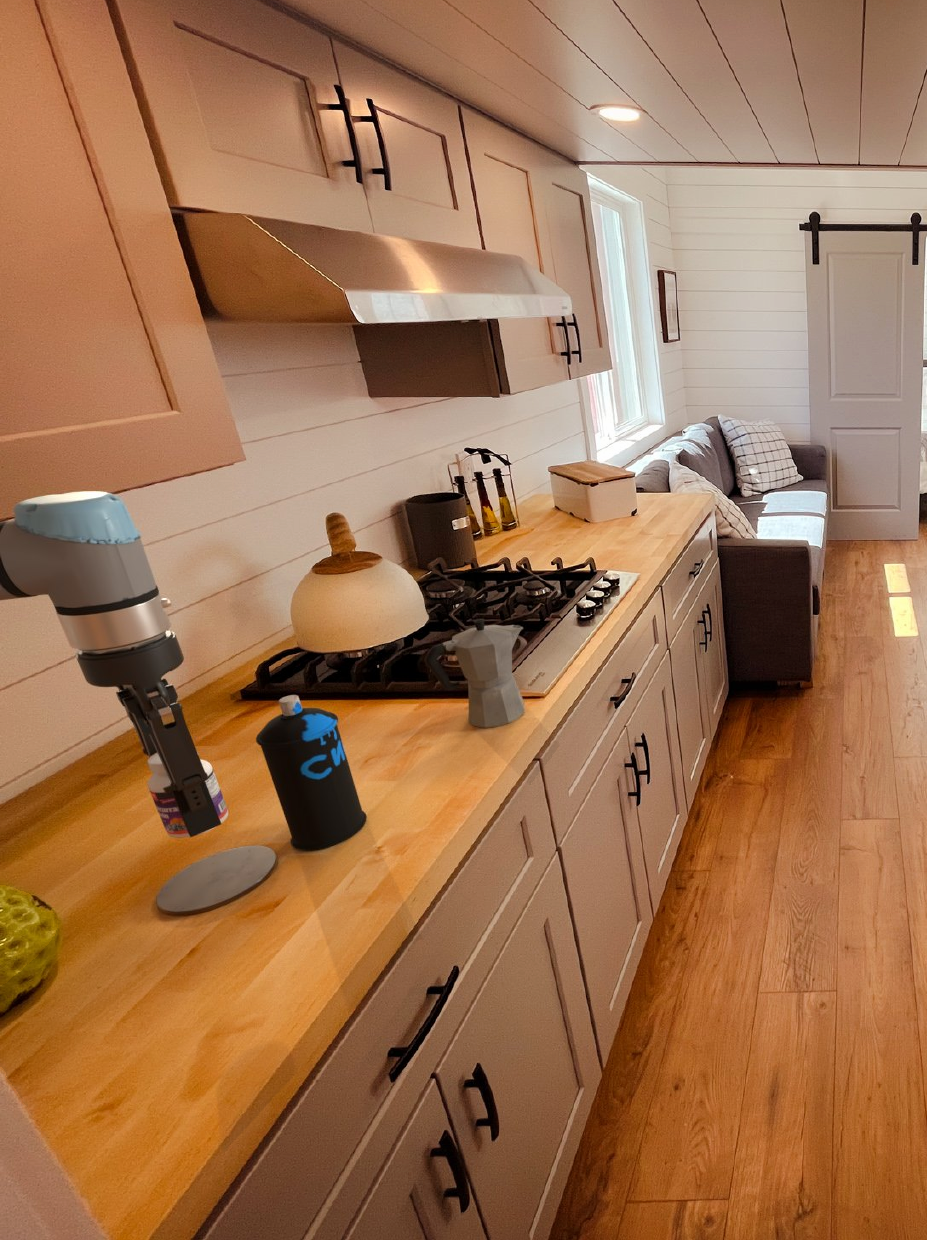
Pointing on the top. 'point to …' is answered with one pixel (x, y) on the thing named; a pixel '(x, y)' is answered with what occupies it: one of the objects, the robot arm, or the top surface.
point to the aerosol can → (311, 775)
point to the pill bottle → (167, 802)
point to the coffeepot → (484, 672)
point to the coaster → (216, 880)
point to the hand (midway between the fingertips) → (196, 819)
